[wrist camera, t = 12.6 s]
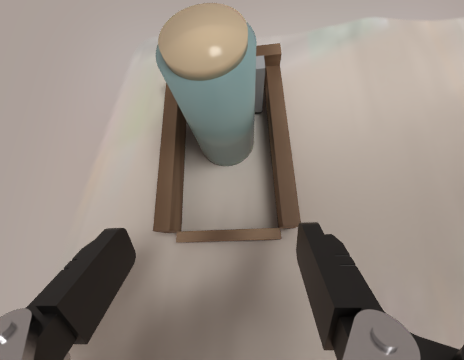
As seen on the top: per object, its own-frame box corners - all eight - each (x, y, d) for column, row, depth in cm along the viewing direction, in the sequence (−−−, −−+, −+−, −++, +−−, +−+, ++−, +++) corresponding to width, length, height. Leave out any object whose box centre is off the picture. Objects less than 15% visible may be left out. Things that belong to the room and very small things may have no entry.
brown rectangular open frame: (275, 76, 20) (279, 43, 17) (295, 238, 16) (307, 237, 12) (177, 86, 21) (162, 56, 18) (166, 242, 16) (144, 242, 13)
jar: (252, 116, 19) (253, -9, 10) (255, 164, 18) (261, 70, 8) (201, 120, 20) (154, 4, 10) (200, 167, 18) (144, 82, 9)
